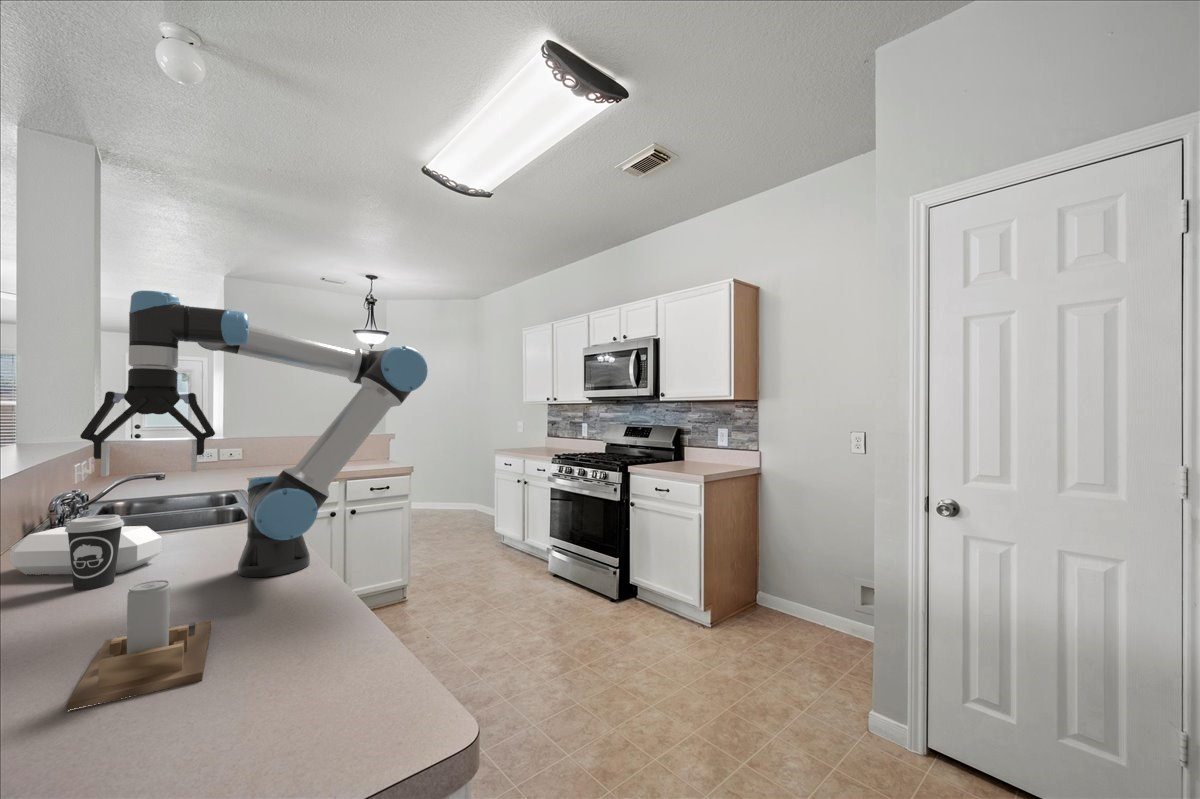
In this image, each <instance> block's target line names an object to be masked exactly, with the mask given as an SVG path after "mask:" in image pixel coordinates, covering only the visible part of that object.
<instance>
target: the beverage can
mask: <svg viewBox="0 0 1200 799" xmlns="http://www.w3.org/2000/svg"><path fill="white" fill-rule="evenodd" d="M169 584H170V581H169V580H166V579H159V580H157V579H156V580H150V581H149V580H148V581H145V582H140V583H136V584H133V585H132V586H130V587H128V592H127V598H126V599H127V603H126V604H127V605H126V635H127V654H130V653H135V652H140V651H145V650H150V649H155V648H160V647H165V646H169V627H170V608H171V607H170V605H171V604H170V603H171V602H170V601H171V600H170V599H171V597H170V596H171V586H170V585H169Z"/></svg>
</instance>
